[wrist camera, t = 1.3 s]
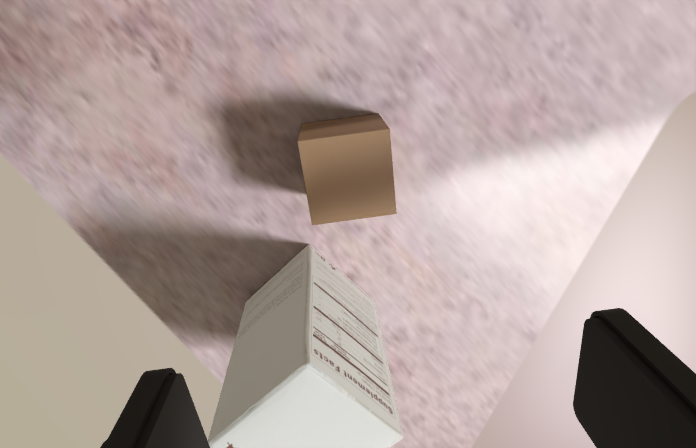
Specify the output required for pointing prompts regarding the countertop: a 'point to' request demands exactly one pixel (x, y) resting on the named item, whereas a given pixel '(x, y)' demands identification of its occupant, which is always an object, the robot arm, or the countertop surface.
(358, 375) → the supplement box
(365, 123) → the walnut cube
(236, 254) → the countertop surface
